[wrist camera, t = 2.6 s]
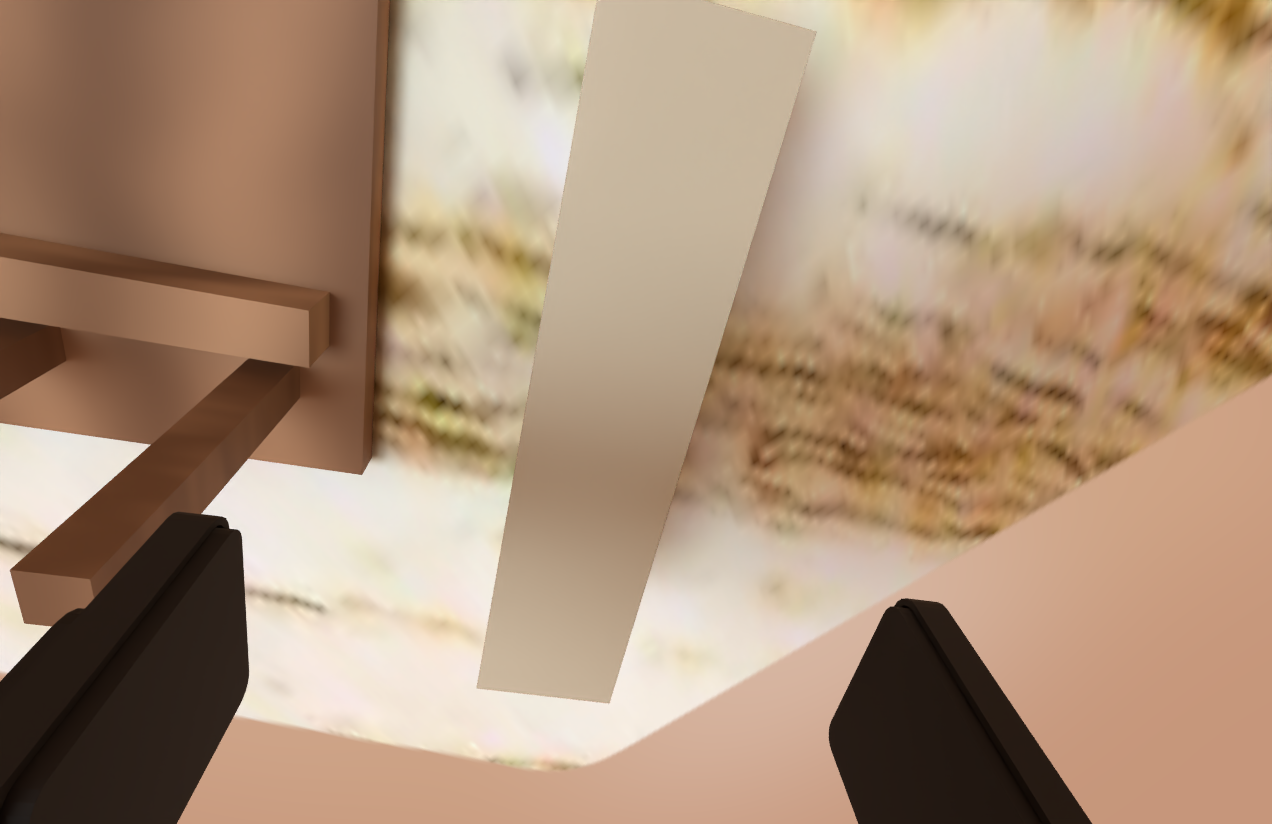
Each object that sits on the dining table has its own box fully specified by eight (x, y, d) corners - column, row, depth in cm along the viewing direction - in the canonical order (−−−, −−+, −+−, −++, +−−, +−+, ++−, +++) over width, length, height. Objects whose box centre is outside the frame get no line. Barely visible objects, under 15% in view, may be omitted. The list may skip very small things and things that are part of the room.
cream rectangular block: (600, 0, 16) (601, -29, 10) (737, 37, 17) (816, 31, 11) (507, 522, 24) (476, 688, 18) (606, 536, 24) (609, 703, 18)
